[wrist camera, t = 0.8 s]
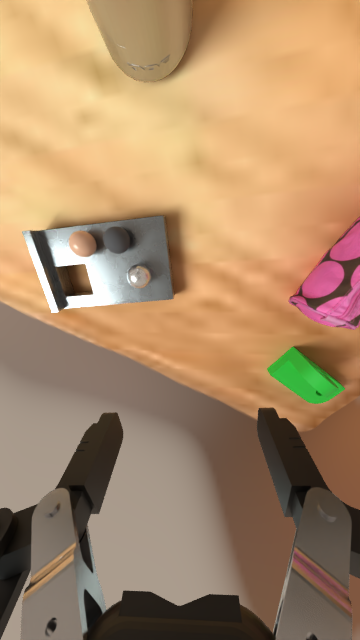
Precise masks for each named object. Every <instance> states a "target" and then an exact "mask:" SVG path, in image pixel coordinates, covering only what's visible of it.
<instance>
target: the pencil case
mask: <svg viewBox="0 0 360 640" xmlns="http://www.w3.org/2000/svg"><path fill="white" fill-rule="evenodd" d="M289 303H290V304H292V305H294V306H296V307H298V309H299V310H300V311H301V312H302V313H304V314H305V315H306V316H307V317H309V318H310V319H312V320H314V321H316V322H318V323H321V324H324V325H327V326H332V327H343V328H348V329H353V330H354V329H356V328H358V327H359V325H360V217H359V218H358V219H357V220H356V221H355V222H354V223H353V225H352V226H351V227H350V228H349V229H348V230H347V231H346V232H345V233H344V234H343V235H342V236H341V237H340V239H339V240H338V241H337V242H336V244H335V245H334V246H333V247H332V248H331V249H329V250H328V251H327V252H326V253H325V254H324V256H323V257H322V259H321V260H320V261H319V263H318V264H317V265H316V267H315V268H314V269H313V270H312V272H311V273H310V274H309V276H308V277H307V278H306V280H305V281H304V282H303V284H302V285H301V286H300V288H299V289H298V291H297V293H296V294H295V295H293V296H291V297H290V299H289Z"/></svg>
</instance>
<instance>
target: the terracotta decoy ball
mask: <svg viewBox="0 0 360 640" xmlns="http://www.w3.org/2000/svg"><path fill="white" fill-rule="evenodd" d="M69 247H70V249H71V250H72V252H73V253H74V254H76V255H77V256H80V257H90V256H92V255H93V254H94V253H95V251H96V247H97V245H96V241H95V239H94V237H93V236H92V235H91V234H89V233H88V232H86V231H76V232H74V233H72V234H71V236H70V237H69Z"/></svg>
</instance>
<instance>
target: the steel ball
mask: <svg viewBox="0 0 360 640" xmlns="http://www.w3.org/2000/svg"><path fill="white" fill-rule="evenodd" d="M127 279H128V282H129V283H130V284H131V285H132V286H133V287H135V288H144V287H146V286H147V285H148V284H149V283H150V281H151V272H150V270H149V269H148V268H147V267H146V266H144V265H142V264H135V265H133V266H131V267H130V268H129V270H128V272H127Z"/></svg>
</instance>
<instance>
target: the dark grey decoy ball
mask: <svg viewBox="0 0 360 640" xmlns="http://www.w3.org/2000/svg"><path fill="white" fill-rule="evenodd" d="M103 240H104V244H105V246H106V248H107V249H108V250H109V251H111V252H113V253H116V254H121V253H124V252H125V251H127V249H128V248H129V246H130V238H129V235H128V233H127V232H126V231H125V230H124V229H123V228H121V227H117V226H113V227H110V228H108V229H107V230H106V231H105V233H104V237H103Z"/></svg>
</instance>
